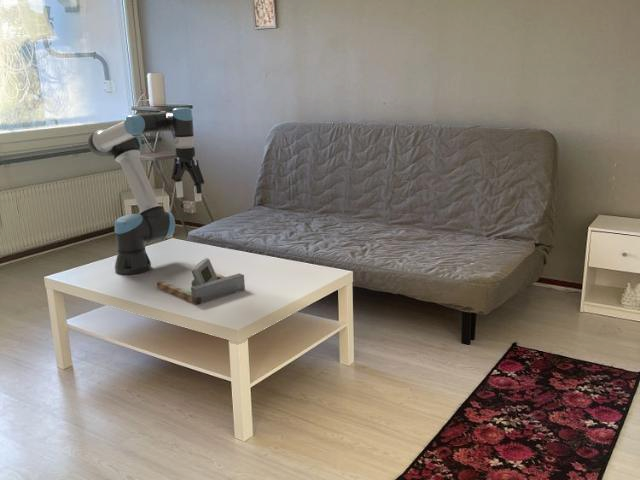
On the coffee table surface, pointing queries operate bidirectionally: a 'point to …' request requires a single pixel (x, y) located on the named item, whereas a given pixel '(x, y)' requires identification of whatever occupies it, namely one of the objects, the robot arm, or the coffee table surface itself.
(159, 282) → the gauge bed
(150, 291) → the coffee table surface
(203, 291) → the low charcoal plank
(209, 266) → the digital clock
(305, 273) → the coffee table surface
